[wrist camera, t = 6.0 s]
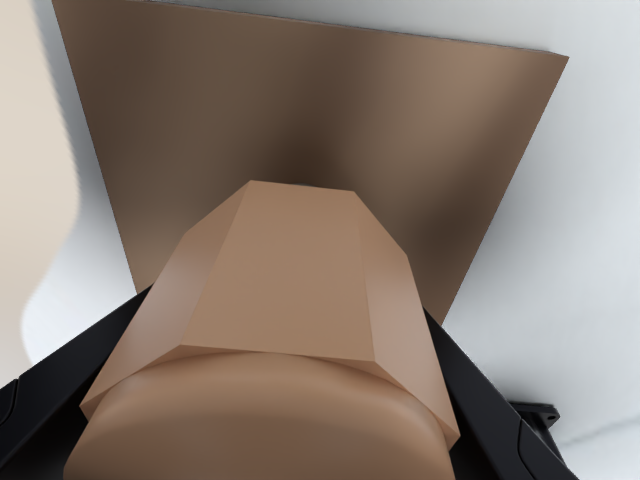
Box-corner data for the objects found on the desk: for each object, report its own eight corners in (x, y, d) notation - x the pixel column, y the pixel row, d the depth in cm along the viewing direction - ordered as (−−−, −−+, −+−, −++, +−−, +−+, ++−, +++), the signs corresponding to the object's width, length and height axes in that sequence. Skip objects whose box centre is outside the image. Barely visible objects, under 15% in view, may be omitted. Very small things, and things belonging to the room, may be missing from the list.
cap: (425, 198, 8) (537, 436, 4) (375, 350, 12) (403, 567, 7) (175, 171, 8) (-19, 393, 4) (200, 335, 12) (118, 550, 7)
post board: (550, 52, 10) (701, 91, 6) (431, 319, 17) (463, 421, 13) (72, -9, 10) (-122, -12, 5) (150, 293, 17) (91, 393, 12)
